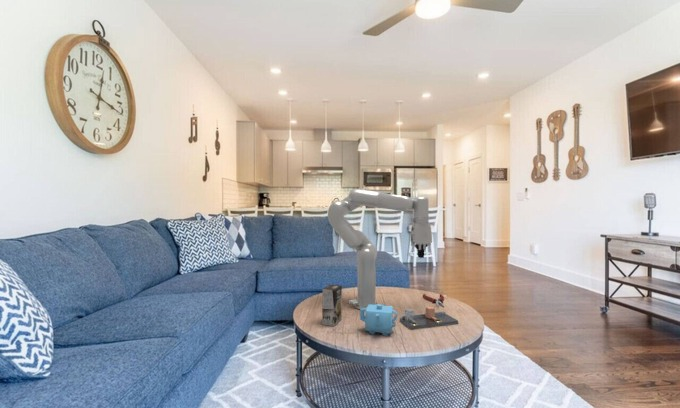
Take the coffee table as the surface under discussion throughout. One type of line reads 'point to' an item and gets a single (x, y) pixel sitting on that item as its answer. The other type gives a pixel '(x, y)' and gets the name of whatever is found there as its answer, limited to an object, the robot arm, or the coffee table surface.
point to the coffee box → (332, 305)
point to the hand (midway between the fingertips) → (420, 257)
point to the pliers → (439, 301)
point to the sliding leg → (430, 312)
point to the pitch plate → (425, 320)
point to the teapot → (378, 318)
